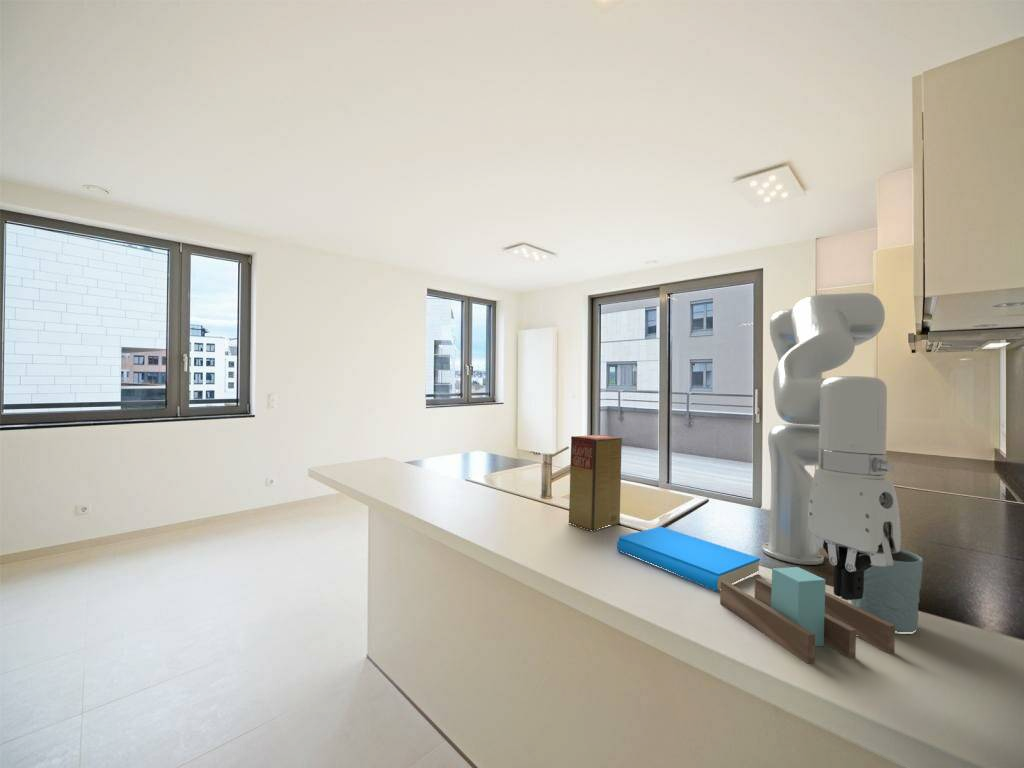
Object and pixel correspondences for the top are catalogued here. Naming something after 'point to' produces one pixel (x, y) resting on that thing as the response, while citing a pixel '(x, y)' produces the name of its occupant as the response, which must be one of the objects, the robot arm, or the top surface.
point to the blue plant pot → (894, 591)
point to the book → (689, 556)
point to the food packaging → (595, 481)
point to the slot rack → (838, 629)
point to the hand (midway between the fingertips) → (848, 596)
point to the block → (800, 599)
